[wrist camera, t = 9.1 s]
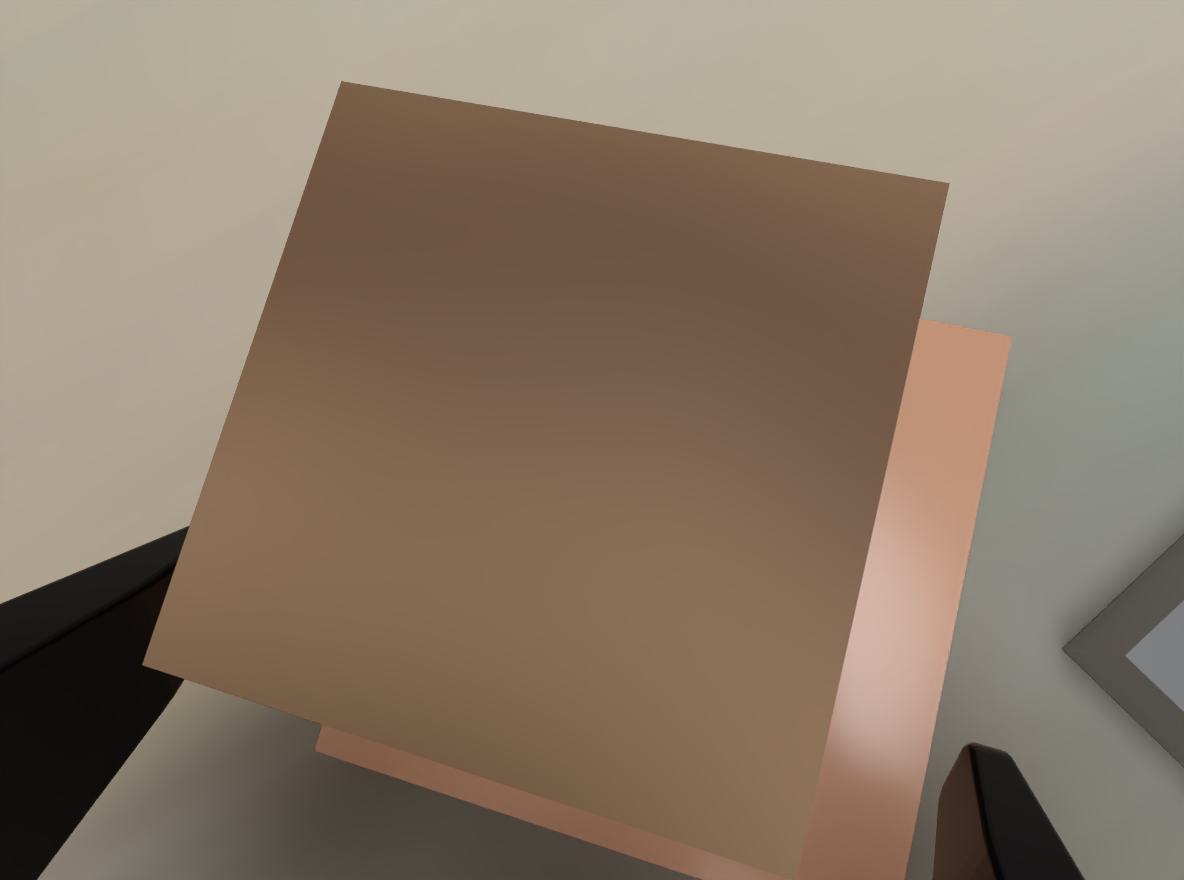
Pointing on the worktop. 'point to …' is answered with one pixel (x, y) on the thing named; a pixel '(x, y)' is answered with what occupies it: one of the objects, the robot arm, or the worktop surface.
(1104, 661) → the slate shelf ledge
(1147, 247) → the worktop surface
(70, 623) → the robot arm
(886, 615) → the terracotta tile stand
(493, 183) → the walnut block
